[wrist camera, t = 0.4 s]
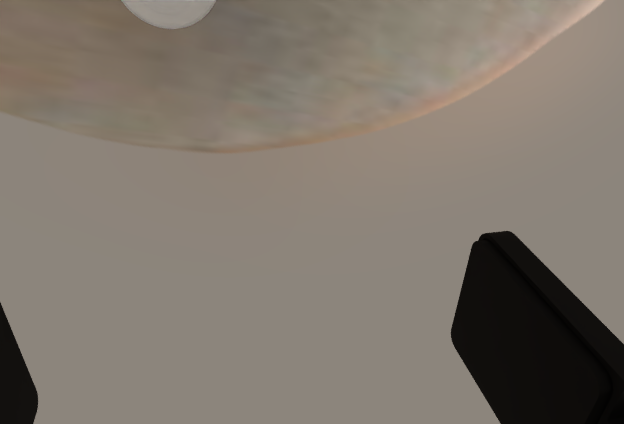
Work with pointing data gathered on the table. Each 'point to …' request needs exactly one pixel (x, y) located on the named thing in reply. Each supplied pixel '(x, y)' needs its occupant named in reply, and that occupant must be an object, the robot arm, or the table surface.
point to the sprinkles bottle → (170, 11)
